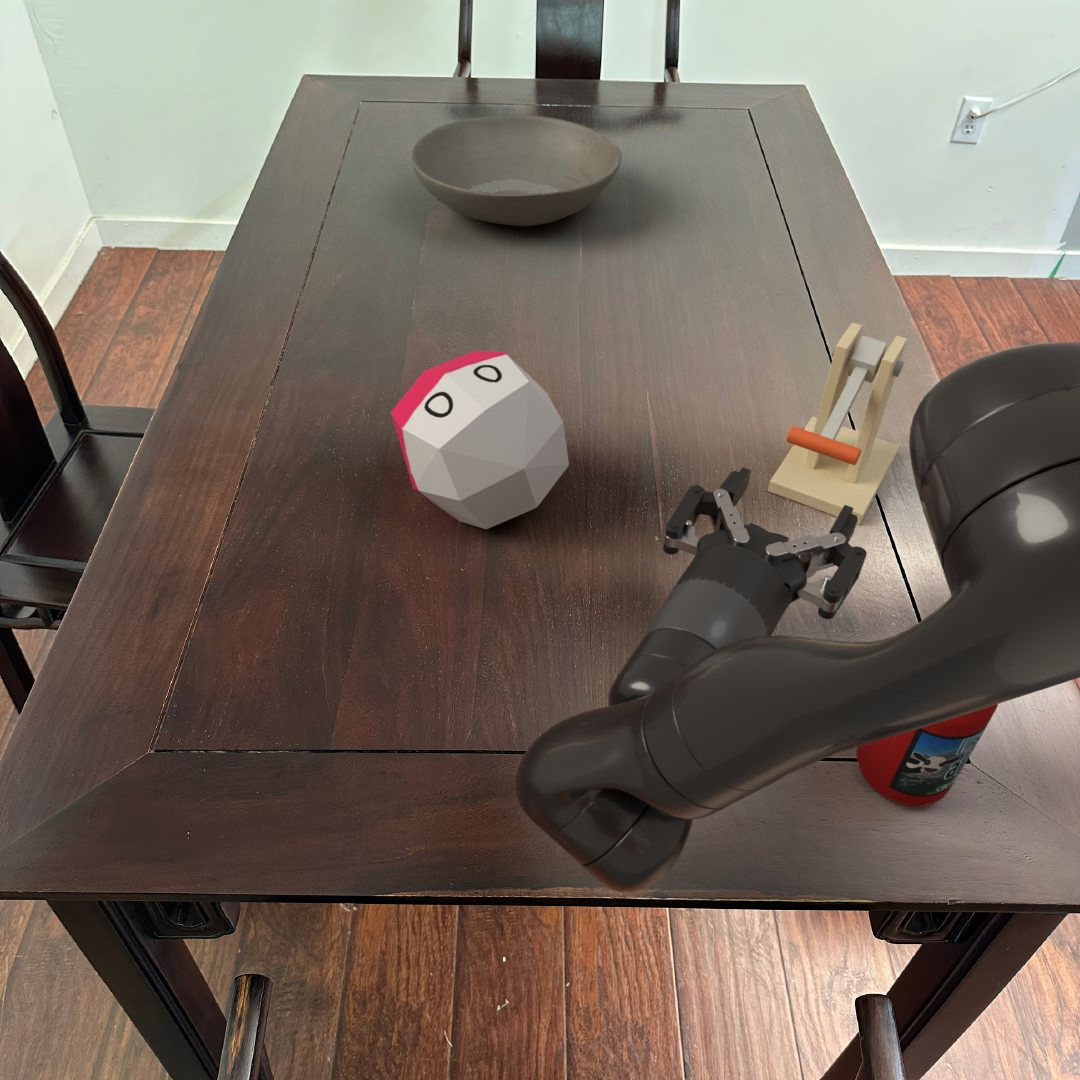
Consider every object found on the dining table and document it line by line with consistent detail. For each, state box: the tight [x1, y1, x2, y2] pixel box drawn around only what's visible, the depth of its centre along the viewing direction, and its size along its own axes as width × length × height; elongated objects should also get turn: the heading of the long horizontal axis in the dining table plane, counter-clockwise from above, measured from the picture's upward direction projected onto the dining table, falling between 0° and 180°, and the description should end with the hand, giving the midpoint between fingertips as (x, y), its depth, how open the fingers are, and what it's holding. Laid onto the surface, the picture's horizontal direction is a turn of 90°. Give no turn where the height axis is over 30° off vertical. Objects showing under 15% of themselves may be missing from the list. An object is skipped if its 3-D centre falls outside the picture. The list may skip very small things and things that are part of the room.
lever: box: [786, 335, 888, 465], centre depth 83 cm, size 12×6×2 cm, turn 149°
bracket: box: [767, 322, 908, 526], centre depth 89 cm, size 12×9×15 cm
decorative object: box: [390, 350, 570, 530], centre depth 86 cm, size 15×15×15 cm
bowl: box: [410, 114, 623, 227], centre depth 131 cm, size 27×28×8 cm
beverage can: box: [856, 704, 999, 807], centre depth 65 cm, size 7×7×12 cm
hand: (795, 494), depth 77 cm, fingers open, 8 cm apart
